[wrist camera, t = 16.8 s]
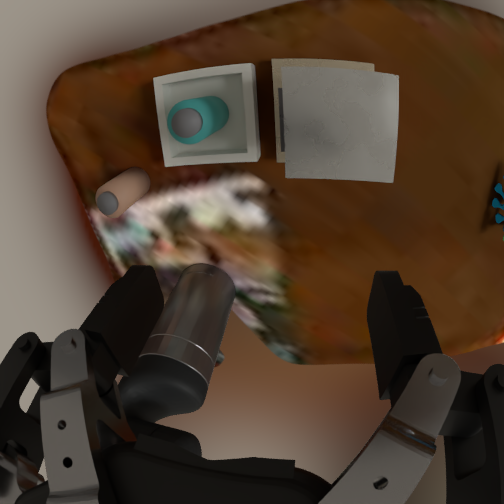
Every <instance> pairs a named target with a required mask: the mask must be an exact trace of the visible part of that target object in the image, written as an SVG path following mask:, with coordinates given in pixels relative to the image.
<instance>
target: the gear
mask: <svg viewBox="0 0 504 504" xmlns="http://www.w3.org/2000/svg"><path fill="white" fill-rule="evenodd" d="M503 177H504V176H503ZM495 191H496V192H498V193H499V194H501V196H502V197H503V199H504V193H503V191H502V185H501V184H500V183H498V184H497V185H496V187H495ZM492 206H493V207H494V208H496V207H498V208H501V209H503V210H504V204H503V205H502V204H500V202H499V200H498V199H497V198H494V199H493V202H492ZM503 220H504V216H502V215H501V214H499V213H497V214H496V222H497V223H500V222H502V221H503ZM503 231H504V225H503ZM503 241H504V236H503Z"/></svg>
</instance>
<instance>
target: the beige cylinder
mask: <svg viewBox="0 0 504 504" xmlns="http://www.w3.org/2000/svg"><path fill="white" fill-rule="evenodd" d="M149 188H150V179H149V176H148V174H147V173H146V172H145V171H144V170H143V169H141V168H139V167H131V168H129V169H128V170H126V171H124V172H123V173H121V174H120V175H118V176H116V177H115V178H113V179H112V180H110V181H109V182H107V183H106V184H104V185H103V186H101V187H100V188H99V189H98V190H97V193H96V203H97V206H98V208H99V210H100V211H101V212H102V213H103V214H104V215H106V216H107V217H110V218H117V217H119V216H120V215H121V214H123V213H124V212H125V211H126V210H127V209H128V208H129V207H131V206H132V205H133V204H134V203H135V202H136V201H138V200H139V199H140V198H141V197H142V196H143V195H145V194H146V193H147V192H148V190H149Z"/></svg>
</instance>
